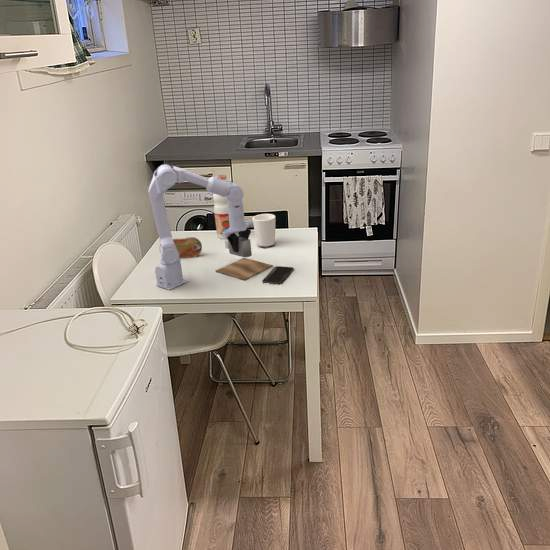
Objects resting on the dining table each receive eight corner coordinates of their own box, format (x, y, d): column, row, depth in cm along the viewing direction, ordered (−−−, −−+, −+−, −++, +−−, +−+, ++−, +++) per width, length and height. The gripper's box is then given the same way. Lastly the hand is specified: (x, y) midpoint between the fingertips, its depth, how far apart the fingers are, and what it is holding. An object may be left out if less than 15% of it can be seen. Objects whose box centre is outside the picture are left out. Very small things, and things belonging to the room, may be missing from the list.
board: (244, 280, 211) (244, 279, 211) (215, 272, 221) (215, 270, 221) (273, 266, 222) (273, 265, 222) (244, 259, 232) (243, 257, 232)
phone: (261, 281, 208) (275, 266, 220) (261, 284, 208) (276, 268, 221) (281, 283, 205) (294, 267, 218) (281, 285, 205) (295, 270, 218)
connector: (246, 257, 213) (245, 242, 211) (224, 252, 221) (222, 237, 219) (253, 254, 216) (252, 239, 214) (231, 249, 224) (230, 234, 221)
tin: (167, 259, 238) (164, 240, 235) (168, 257, 241) (165, 238, 238) (202, 256, 238) (200, 238, 235) (203, 254, 241) (201, 235, 238)
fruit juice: (227, 231, 267) (220, 173, 256) (241, 234, 261) (235, 174, 250) (213, 237, 260) (205, 177, 249) (227, 241, 254) (220, 179, 244)
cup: (261, 240, 252) (259, 213, 247) (281, 242, 247) (279, 214, 242) (250, 248, 244) (248, 219, 239) (271, 250, 239) (268, 221, 234)
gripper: (230, 222, 205) (234, 257, 210) (257, 212, 214) (260, 245, 220) (216, 219, 209) (220, 254, 214) (244, 209, 219) (247, 242, 224)
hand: (240, 249), depth 217 cm, fingers closed on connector, 4 cm apart
